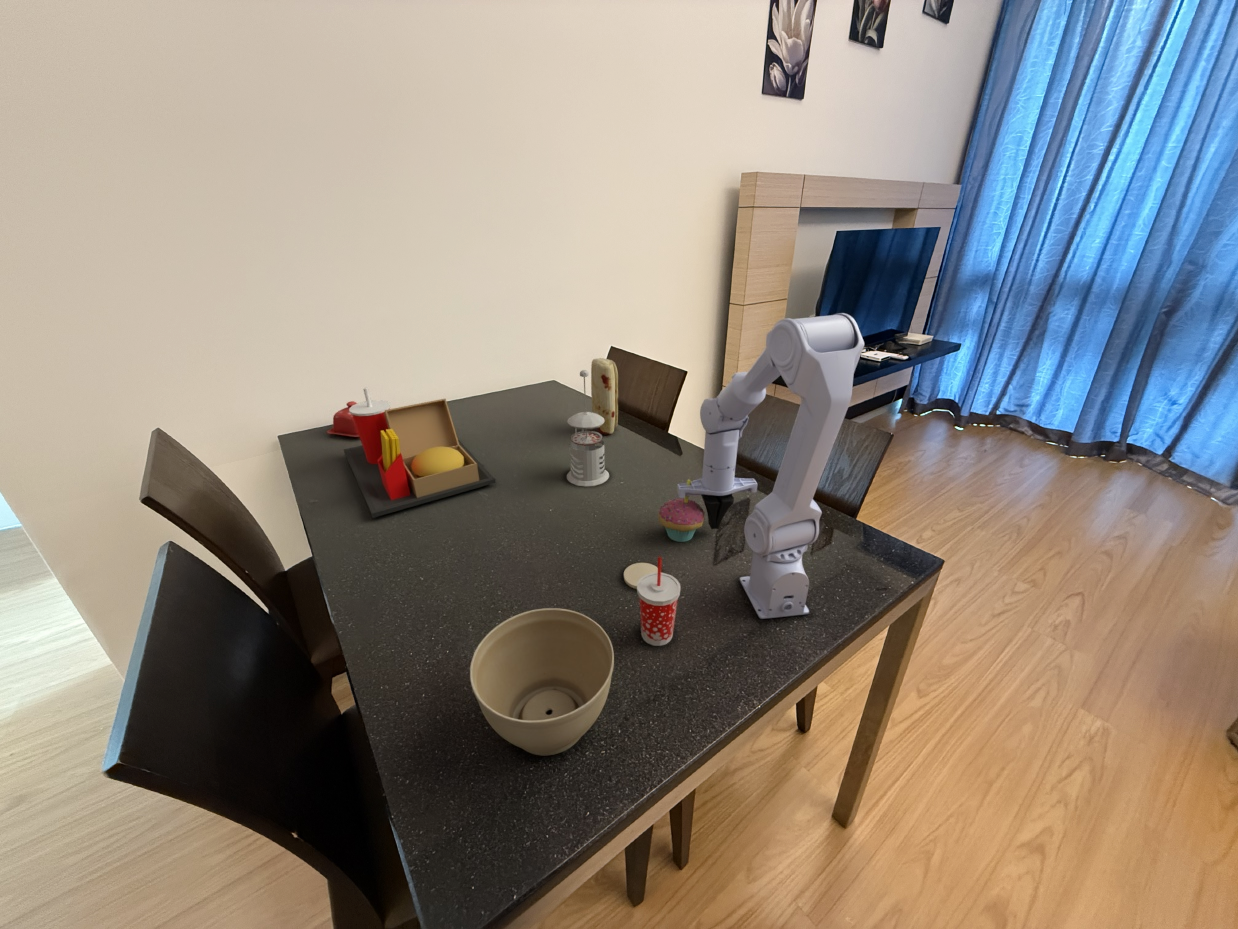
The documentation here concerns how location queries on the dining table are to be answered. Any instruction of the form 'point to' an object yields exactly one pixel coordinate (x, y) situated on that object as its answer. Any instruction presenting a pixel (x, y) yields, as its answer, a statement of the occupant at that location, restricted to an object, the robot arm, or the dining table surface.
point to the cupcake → (681, 518)
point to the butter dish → (344, 422)
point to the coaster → (637, 573)
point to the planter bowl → (543, 678)
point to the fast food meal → (410, 455)
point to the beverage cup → (658, 606)
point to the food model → (605, 393)
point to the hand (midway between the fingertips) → (713, 526)
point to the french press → (586, 448)
